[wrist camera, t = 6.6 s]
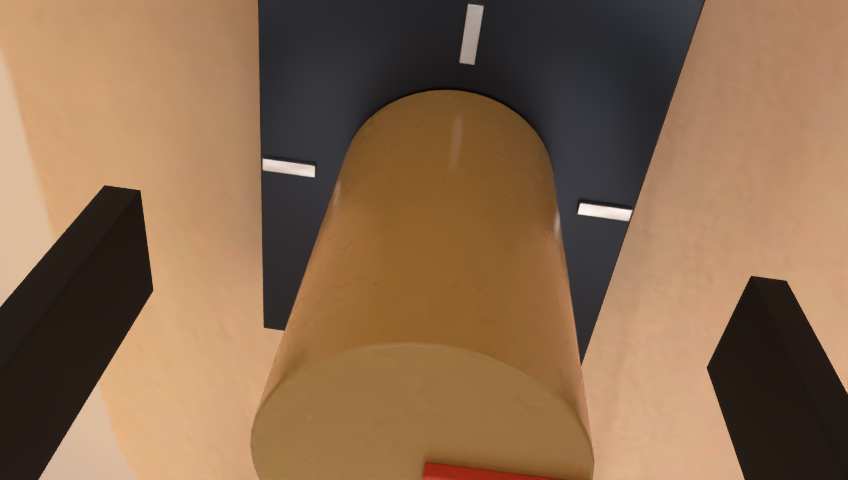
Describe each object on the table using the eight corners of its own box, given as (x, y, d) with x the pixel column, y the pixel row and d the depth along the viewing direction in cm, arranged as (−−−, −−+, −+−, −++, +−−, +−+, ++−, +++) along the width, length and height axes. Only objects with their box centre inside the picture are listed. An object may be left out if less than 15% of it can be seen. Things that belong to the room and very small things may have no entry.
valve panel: (287, -106, 18) (253, -79, 16) (681, -50, 18) (712, -14, 16) (285, 270, 25) (261, 332, 23) (570, 310, 25) (580, 376, 23)
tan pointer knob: (338, 258, 21) (250, 561, 13) (346, 74, 18) (235, 335, 10) (532, 283, 21) (555, 601, 13) (575, 104, 18) (640, 388, 10)
